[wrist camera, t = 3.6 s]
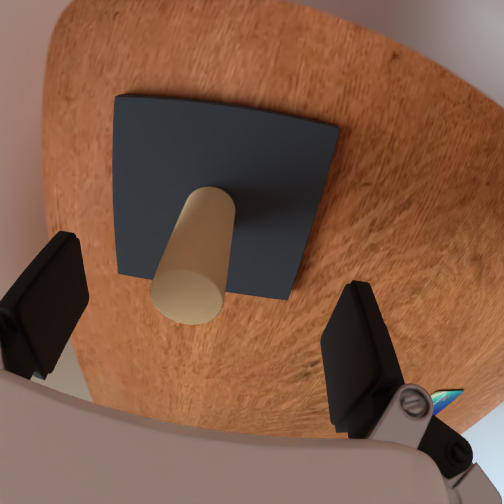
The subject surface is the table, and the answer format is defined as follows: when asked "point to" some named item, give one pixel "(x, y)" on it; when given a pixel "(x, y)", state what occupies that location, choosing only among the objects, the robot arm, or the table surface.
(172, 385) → the table surface
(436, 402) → the credit card
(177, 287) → the plate with wooden peg
